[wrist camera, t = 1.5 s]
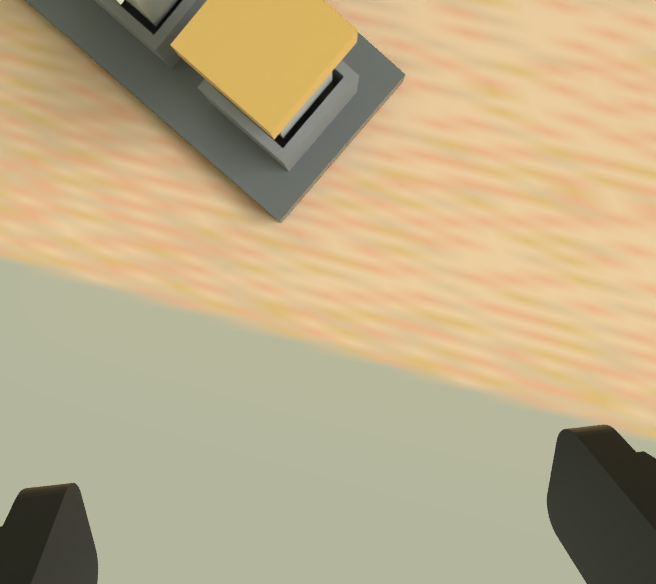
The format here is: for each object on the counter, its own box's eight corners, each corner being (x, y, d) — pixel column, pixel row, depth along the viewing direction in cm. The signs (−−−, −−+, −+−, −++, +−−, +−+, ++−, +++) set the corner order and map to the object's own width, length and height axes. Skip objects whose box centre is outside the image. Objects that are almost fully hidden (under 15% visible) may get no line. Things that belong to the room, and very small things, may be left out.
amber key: (205, 89, 28) (170, 44, 22) (273, 8, 27) (256, -60, 21) (284, 159, 28) (270, 133, 22) (353, 79, 28) (357, 30, 22)
